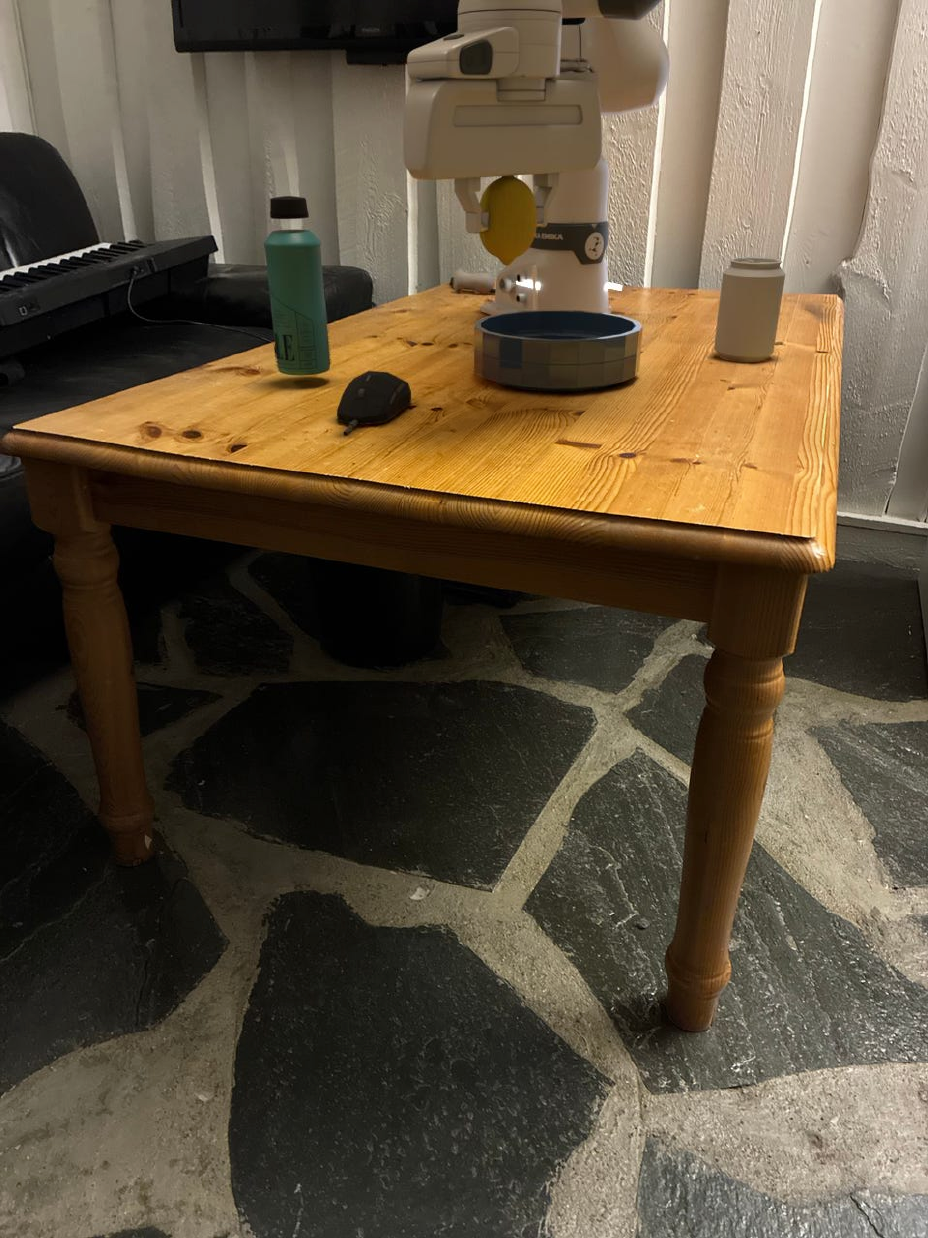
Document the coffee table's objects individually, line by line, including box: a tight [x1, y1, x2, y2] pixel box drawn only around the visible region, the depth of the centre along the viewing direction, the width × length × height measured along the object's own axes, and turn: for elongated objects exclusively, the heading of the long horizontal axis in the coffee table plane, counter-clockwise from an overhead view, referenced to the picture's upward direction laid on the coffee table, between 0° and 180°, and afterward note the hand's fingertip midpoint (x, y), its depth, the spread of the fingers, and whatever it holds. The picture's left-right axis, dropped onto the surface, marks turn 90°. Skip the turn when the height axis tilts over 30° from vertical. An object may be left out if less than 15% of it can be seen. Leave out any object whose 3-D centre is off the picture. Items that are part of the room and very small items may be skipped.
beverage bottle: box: [263, 195, 333, 376], centre depth 102 cm, size 6×7×20 cm
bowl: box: [473, 310, 644, 393], centre depth 108 cm, size 20×20×6 cm
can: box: [713, 256, 786, 363], centre depth 115 cm, size 8×8×12 cm
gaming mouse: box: [336, 370, 412, 436], centre depth 93 cm, size 6×15×4 cm, turn 166°
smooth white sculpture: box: [452, 267, 496, 295], centre depth 167 cm, size 4×8×5 cm
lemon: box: [478, 175, 537, 266], centre depth 84 cm, size 6×6×8 cm
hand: (506, 229), depth 84 cm, fingers closed on lemon, 5 cm apart
